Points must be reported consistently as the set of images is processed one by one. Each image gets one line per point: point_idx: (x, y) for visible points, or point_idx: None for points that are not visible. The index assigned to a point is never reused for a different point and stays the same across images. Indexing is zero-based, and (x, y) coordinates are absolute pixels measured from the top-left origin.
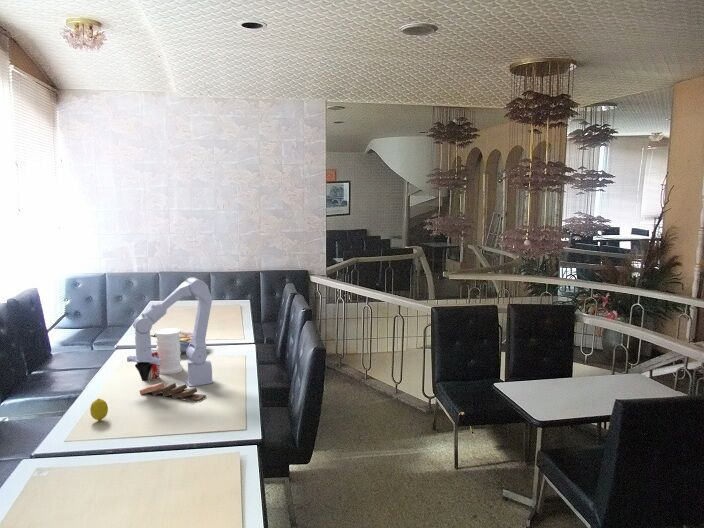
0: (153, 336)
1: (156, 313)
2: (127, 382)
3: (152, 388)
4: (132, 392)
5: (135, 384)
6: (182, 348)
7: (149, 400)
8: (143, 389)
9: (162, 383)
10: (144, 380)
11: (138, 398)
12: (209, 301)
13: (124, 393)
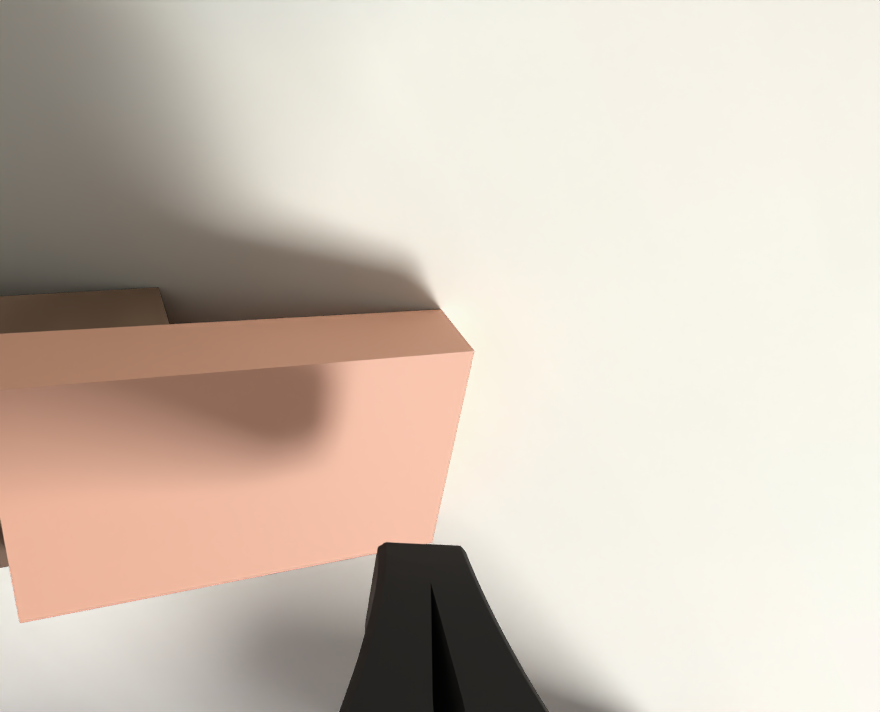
0: None
1: None
2: (848, 656)
3: (105, 365)
4: (635, 369)
5: (714, 626)
6: None
7: (19, 8)
8: (370, 363)
9: (13, 583)
10: (386, 554)
11: (360, 98)
12: None
13: (763, 307)
